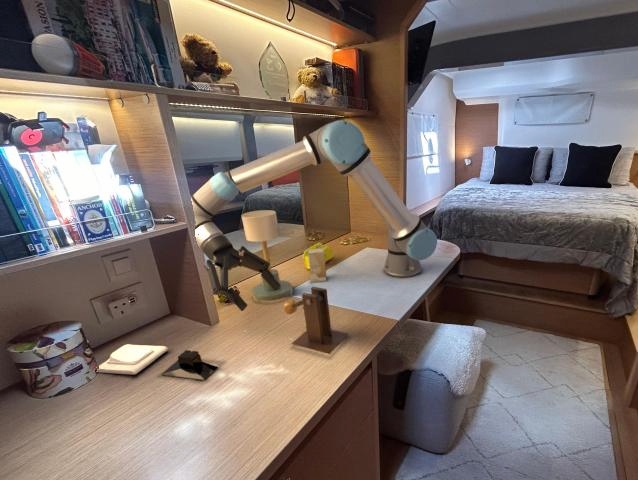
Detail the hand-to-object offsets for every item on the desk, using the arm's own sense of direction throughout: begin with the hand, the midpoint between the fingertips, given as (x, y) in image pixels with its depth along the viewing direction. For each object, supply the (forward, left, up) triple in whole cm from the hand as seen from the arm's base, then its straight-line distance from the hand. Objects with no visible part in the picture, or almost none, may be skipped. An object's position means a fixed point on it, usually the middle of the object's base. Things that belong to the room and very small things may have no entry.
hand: (262, 297), depth 97 cm
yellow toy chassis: (-53, -17, -11) cm, 57 cm away
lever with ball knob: (0, +15, -1) cm, 15 cm away
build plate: (+22, -5, -11) cm, 25 cm away
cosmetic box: (-38, -7, -11) cm, 40 cm away
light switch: (+26, -23, -11) cm, 37 cm away
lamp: (-20, -15, -11) cm, 27 cm away
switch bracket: (0, +19, -11) cm, 22 cm away
